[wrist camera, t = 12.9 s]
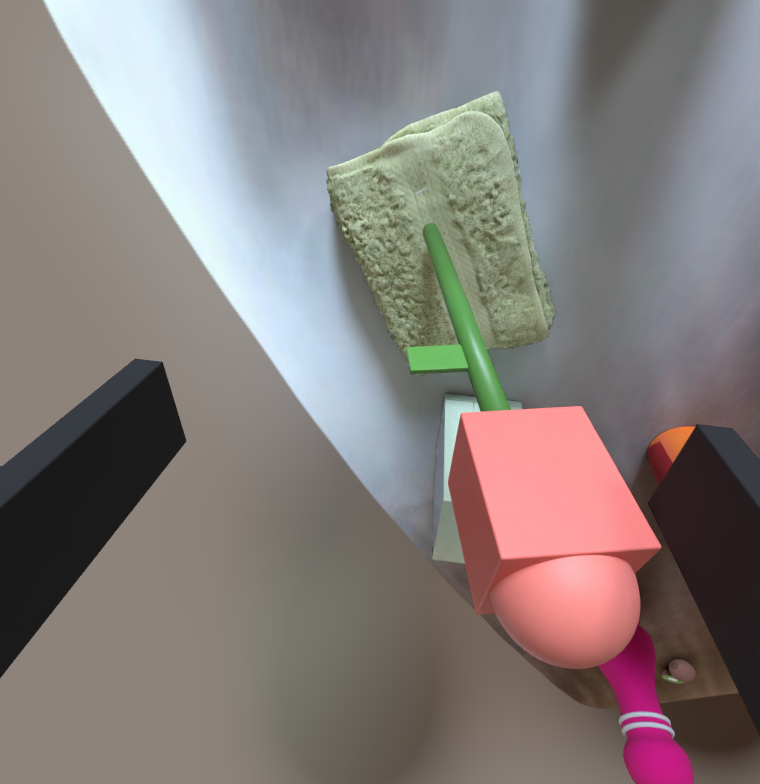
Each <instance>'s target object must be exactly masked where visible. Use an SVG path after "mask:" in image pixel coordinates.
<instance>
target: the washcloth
mask: <svg viewBox="0 0 760 784" xmlns="http://www.w3.org/2000/svg"><path fill="white" fill-rule="evenodd" d="M510 134H511V133H509V120H508V117H507V112H506V111H505V105H504V102H503V100H502V97H501V95H500V94H499V92H497V91H496V92H492V93H490V94H488V95H485V96H483V97H481V98H478V99H476V100H473V101H471V102H469V103H467V104H465V105H463V106H460V107H457V108H455V109H451V110H448V111H445V112H442V113H440V114H436V115H433V116H431V117H429V118H426V119H422V120H420V121H418V122H415V123H413V124H410V125H408V126H406V127H405V128H404V129H402V130H400V131H398V132H397V133H396V134H394V135H393V136H391V137H390V138H389V139H388V140H387V141H386V142H385V143H384V144H383V145H382V146H381V147H379V148H377V149H375V150H373V151H371V152H369V153H366V154H364V155H361V156H359V157H356V158H354V159H352V160H350V161H347V162H344V163H341V164H339V165H336V166H332V167H328V168H327V176H328V179H327V180H326V181H327V184H328V185H327V190H328V193H329V194H330V195H329V196H330V201H331V203H330V206H331V211H332V212H333V213H334V215H335V218H336V219H337V223H338V224H337V226H340V227H341V228H342V231H343V233H344V236H345V238H346V241H347V243H348V245H349V246H351V247H352V249H353V253H354V255H355V257H356V260H355V261H358V262H359V263H360V266H361V267H362V268H361V270H362V272H363V275H365V277H364V278H365V279H366V282H367V284H368V285H369V287H370V291H371V293H373V296H374V301H375V304H376V306H377V307H378V308H379V310H380V312H381V315H383V318H384V319H385V321H386V328H387V329H388V331H389V332H390V333H392V335H391V338H392V340H394V341H395V342H396V344H397V347H398V348H399V349H400V352H401V353H402V354H403V355H404V357H405V360H406V362H408V357H407V351H406V349H407V347H421V346H441V345H459V344H458V341H457V338H456V335H455V332H454V329H453V326H452V323H451V320H450V317H449V313H448V310H447V307H446V304H445V301H444V298H443V295H442V292H441V289H440V286H439V283H438V280H437V277H436V274H435V271H434V267H433V264H432V261H431V258H430V255H429V252H428V249H427V246H426V243H425V240H424V237H423V232H422V231H423V228H424V226H425V225H426V224H428V223H434V224H436V225H437V226H438V228H439V230H440V233H441V235H442V238H443V240H444V243H445V245H446V248H447V250H448V253H449V255H450V258H451V260H452V263H453V265H454V268H455V270H456V273H457V276H458V278H459V281H460V283H461V286H462V288H463V291H464V293H465V296H466V298H467V301H468V303H469V306H470V308H471V311H472V313H473V316H474V318H475V321H476V323H477V326H478V328H479V331H480V333H481V336H482V338H483V341H484V343H485V346H486V348H487V351H488V350H490V349H494V348H497V347H500V348H502V349H506V348H508V347H510V348H514V347H515V346H516V347H520V346H527V345H530V344H533V343H535V342H540V341H542V340H543V339H545V338H547V337H548V336H549V332H548V330H549V329H550V328H551V326H552V321H553V319H554V314H555V307H554V305H552V304H551V301H552V300H551V299H550V298H551V295H550V293H551V291H550V290H549V288H548V284H547V282H546V281H545V277H546V276H545V275H544V273H543V272H542V270H541V268H540V266H539V261H538V254H537V253H536V250H535V249H536V248H535V245H534V240H533V238H532V230H531V227H530V224H529V219H528V217H527V213H526V211H525V205H526V203H525V201H524V200H523V199H522V197H521V182H520V180H521V179H522V177H521V176H520V172H519V170H518V166H517V163H518V157H517V154H516V151H515V145H514V141H513V137H512V136H511V135H510ZM408 364H409V363H408ZM418 375H420V376H421V375H425V374H418Z"/></svg>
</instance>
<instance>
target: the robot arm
mask: <svg viewBox="0 0 760 784" xmlns="http://www.w3.org/2000/svg"><path fill="white" fill-rule="evenodd" d="M185 442H186V438H185V435H184V431H183V428H182V425H181V421H180V418H179V415H178V412H177V408H176V405H175V402H174V398H173V395H172V392H171V388H170V385H169V382H168V379H167V375H166V372H165V368H164V366H163V362H159V361H150V360H142V359H134V360H133V361H132V362H130V363H129V364H128V365H127V366H125V367H124V368H123V369H122V370H121V371H119V372H118V373H117V374H116V375H114V376H113V377H112V378H111V379H109V380H108V381H107V382H106V383H105V384H103V385H102V386H101V387H100V388H98V389H97V390H96V391H95V392H94V393H92V394H91V395H90V396H88V397H87V398H86V399H85V400H83V401H82V402H81V403H80V404H79V405H77V406H76V407H75V408H74V409H72V410H71V411H70V412H69V413H68V414H66V415H65V416H64V417H63V418H61V419H60V420H59V421H57V422H56V423H55V424H54V425H53V426H51V427H50V428H49V429H48V430H46V431H45V432H44V433H43V434H41V435H40V436H39V437H38V438H36V439H35V440H34V441H33V442H32V443H30V444H29V445H28V446H27V447H25V448H24V449H23V450H22V451H20V452H19V453H18V454H17V455H15V456H14V457H13V458H12V459H11V460H9V461H8V462H7V463H6V464H4V465H3V466H0V678H1V677H2V675H3V674H4V673H5V671H6V670H7V669H8V667H9V666H10V665H11V664H12V663H13V661H14V660H15V659H16V657H17V656H18V655H19V654H20V652H21V651H22V650H23V649H24V647H25V646H26V644H27V643H28V642H29V641H30V639H31V638H32V637H33V636H34V635H35V633H36V632H37V631H38V629H39V628H40V627H41V626H42V624H43V623H44V622H45V620H46V619H47V618H48V617H49V615H50V614H51V613H52V612H53V610H54V609H55V608H56V606H57V605H58V604H59V603H60V601H61V600H62V599H63V597H64V596H65V595H66V594H67V593H68V591H69V590H70V589H71V587H72V586H73V585H74V584H75V582H76V581H77V580H78V579H79V577H80V576H81V575H82V573H83V572H84V571H85V569H86V568H87V567H88V566H89V565H90V563H91V562H92V561H93V559H94V558H95V557H96V556H97V554H98V553H99V552H100V551H101V549H102V548H103V547H104V545H105V544H106V543H107V542H108V540H109V539H110V538H111V537H112V535H113V534H114V532H115V531H116V530H117V529H118V528H119V526H120V525H121V524H122V523H123V521H124V520H125V519H126V517H127V516H128V515H129V514H130V512H131V511H132V510H133V509H134V507H135V506H136V505H137V503H138V502H139V501H140V499H141V498H142V497H143V496H144V495H145V493H146V492H147V490H148V489H149V488H150V487H151V486H152V484H153V483H154V482H155V481H156V479H157V478H158V477H159V475H160V474H161V473H162V472H163V470H164V469H165V468H166V467H167V465H168V464H169V463H170V461H171V460H172V459H173V458H174V456H175V455H176V453H178V451H179V450H180V449H181V447H182V446H183V445H184V444H185ZM648 505H649V507H650V509H651V511H652V513H653V515H654V517H655V519H656V521H657V523H658V525H659V527H660V529H661V532H662V534H663V536H664V538H665V540H666V542H667V544H668V546H669V548H670V550H671V552H672V554H673V557H674V559H675V561H676V563H677V565H678V567H679V569H680V571H681V573H682V575H683V577H684V579H685V581H686V584H687V586H688V588H689V590H690V592H691V594H692V596H693V598H694V600H695V602H696V604H697V606H698V608H699V611H700V613H701V615H702V617H703V619H704V621H705V623H706V625H707V627H708V629H709V631H710V633H711V635H712V638H713V640H714V642H715V644H716V646H717V648H718V650H719V652H720V654H721V656H722V658H723V660H724V662H725V665H726V667H727V669H728V671H729V673H730V675H731V677H732V679H733V681H734V683H735V685H736V687H737V689H738V692H739V694H740V696H741V697H742V700H743V702H744V704H745V706H746V708H747V710H748V712H749V714H750V716H751V718H752V720H753V723H754V725H755V727H756V729H757V731H758V733H759V735H760V460H759V459H758V458H757V457H756V455H755V454H754V453H753V452H752V451H751V450H750V448H749V447H748V446H747V445H746V444H745V442H744V441H743V440H742V439H741V438H740V437H739V435H738V434H737V433H736V432H735V431H734V430H733V428H725V427H717V426H708V425H700V424H697V425H696V427H695V428H694V430H693V431H692V433H691V435H690V436H689V438H688V439H687V441H686V443H685V444H684V446H683V448H682V449H681V451H680V452H679V454H678V456H677V457H676V459H675V460H674V462H673V464H672V465H671V467H670V469H669V470H668V472H667V473H666V475H665V477H664V478H663V480H662V481H661V483H660V485H659V486H658V488H657V489H656V491H655V493H654V494H653V496H652V498H651V499H650V501H649V502H648Z"/></svg>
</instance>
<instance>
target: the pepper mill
mask: <svg viewBox="0 0 760 784" xmlns="http://www.w3.org/2000/svg"><path fill="white" fill-rule="evenodd" d="M639 624H640V619H639V622H638V625H637V628H636V631H635V633H634V635H633V637H632V639H631V641H630V642H629V643H628V645H627V646H626V647H625V648H624V650H623V651H622V652H620V653H619V654H618V655H617V656H616V657H614V658H613V659H611V660H609V661H608V662H606V663H604V664H601V665H598V666H599V668H600V669H601V671H602V672H603V674H604V675H605V677H606V678H607V680H608V681H609V683H610V685H611V687H612V689H613V691H614V693H615V695H616V698H617V701H618V704H619V707H620V711H621V717H620V719H619V724H620V725H621V727H622V734H623V735H624V736H625V737H626V738H627V741H626V744H625V746H624V750H623V756H624V761H625V764H626V767H627V770H628V772H629V774H630V775H631V777H632V779H633V781H634V782H635V783H636V784H693V783H694V774H693V769H692V766H691V763H690V760H689V758H688V756H687V754H686V753H685V751H684V750H683V749H682V748H681V747H680V746H679V745H678V744H677V743H676V742H675V741H674V740H673V738H674V736H675V734H674V731H673V730H672V729H671V722H670V720H669V719H668V718H667V717H665V716H664V715H663V712H662V710H661V708H660V705H659V701H658V697H657V694H656V688H655V666H656V657H655V649H654V645H653V642H652V639H651V637H650V635H649V634H648V633H647V632H646V631H645V630H644V629H643V628H641V627H640V626H639Z"/></svg>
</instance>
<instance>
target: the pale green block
mask: <svg viewBox="0 0 760 784" xmlns="http://www.w3.org/2000/svg"><path fill="white" fill-rule="evenodd" d="M507 401H508V403H509V406H510V408H511V410H519V409H522V405H521V402H520V401H512V400H507ZM466 412H480V408H479V405H478V402H477V399H476V396H467V395H458V394H449V393H445V396H444V403H443V409H442V415H441V421H440V428H439V434H438V440H437V446H436V468H435V494H434V521H433V547H432V559H434V560H441V561H448V562H455V563H462V564H465V561H464V556H463V552H462V547H461V542H460V538H459V533H458V528H457V524H456V519H455V514H454V510H453V505H452V500H451V496H450V491H449V486H448V478H449V473H450V467H451V462H452V457H453V451H454V446H455V441H456V435H457V430H458V425H459V419H460V414H461V413H466Z"/></svg>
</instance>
